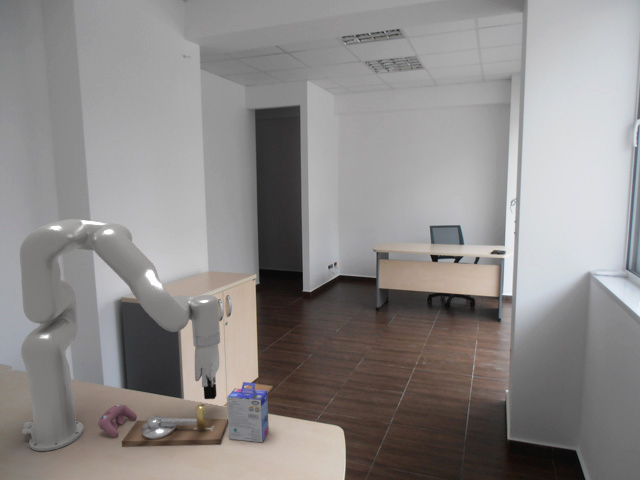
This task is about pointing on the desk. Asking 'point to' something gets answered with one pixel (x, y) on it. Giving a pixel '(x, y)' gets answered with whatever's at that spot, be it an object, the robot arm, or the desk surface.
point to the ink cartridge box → (248, 414)
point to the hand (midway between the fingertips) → (210, 397)
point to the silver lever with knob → (172, 424)
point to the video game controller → (117, 414)
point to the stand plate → (180, 435)
